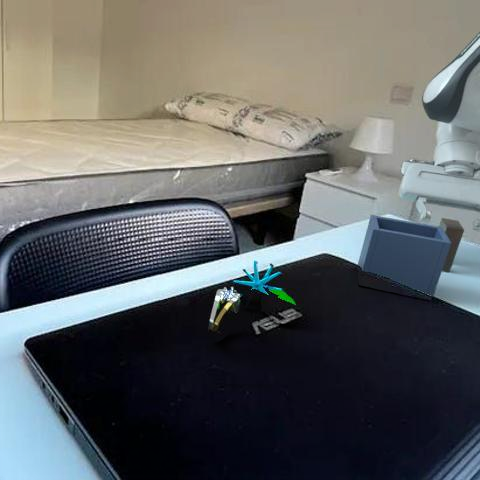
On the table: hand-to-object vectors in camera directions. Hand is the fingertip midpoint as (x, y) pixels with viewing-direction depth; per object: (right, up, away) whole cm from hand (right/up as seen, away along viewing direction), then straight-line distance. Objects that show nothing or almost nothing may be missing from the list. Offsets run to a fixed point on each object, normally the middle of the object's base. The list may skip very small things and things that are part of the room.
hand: (451, 225), depth 97 cm
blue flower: (-40, -14, -18) cm, 46 cm away
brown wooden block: (-1, -8, +3) cm, 8 cm away
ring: (-48, -17, -28) cm, 58 cm away
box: (-15, -11, -7) cm, 20 cm away
